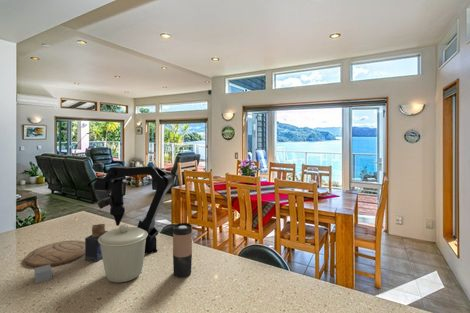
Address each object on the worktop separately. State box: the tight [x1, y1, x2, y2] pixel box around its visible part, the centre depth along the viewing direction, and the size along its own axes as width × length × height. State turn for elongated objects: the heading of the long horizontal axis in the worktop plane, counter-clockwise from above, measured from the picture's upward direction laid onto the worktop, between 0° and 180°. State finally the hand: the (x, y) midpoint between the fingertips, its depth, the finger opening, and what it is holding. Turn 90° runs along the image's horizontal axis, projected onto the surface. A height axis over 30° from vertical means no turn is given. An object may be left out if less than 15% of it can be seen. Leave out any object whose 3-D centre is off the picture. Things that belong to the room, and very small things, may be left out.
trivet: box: [24, 239, 85, 268], centre depth 121 cm, size 25×25×2 cm
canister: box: [98, 223, 148, 284], centre depth 103 cm, size 18×18×21 cm
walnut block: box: [91, 223, 106, 237], centre depth 119 cm, size 5×5×4 cm
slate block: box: [33, 264, 53, 284], centre depth 100 cm, size 5×5×4 cm
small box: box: [84, 230, 109, 263], centre depth 119 cm, size 11×6×10 cm, turn 169°
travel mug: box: [172, 222, 193, 279], centre depth 105 cm, size 8×8×20 cm
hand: (117, 222), depth 127 cm, fingers open, 9 cm apart
